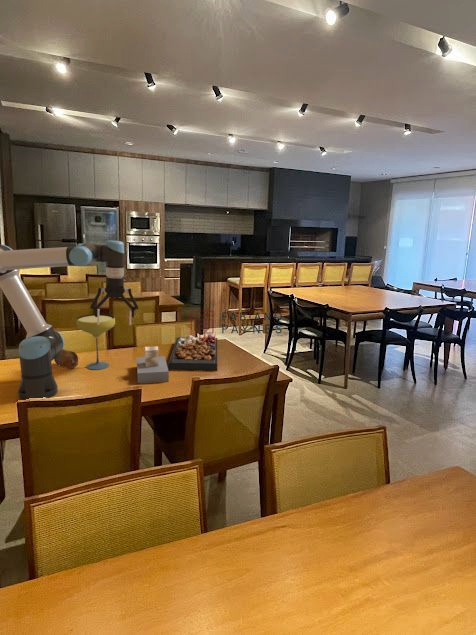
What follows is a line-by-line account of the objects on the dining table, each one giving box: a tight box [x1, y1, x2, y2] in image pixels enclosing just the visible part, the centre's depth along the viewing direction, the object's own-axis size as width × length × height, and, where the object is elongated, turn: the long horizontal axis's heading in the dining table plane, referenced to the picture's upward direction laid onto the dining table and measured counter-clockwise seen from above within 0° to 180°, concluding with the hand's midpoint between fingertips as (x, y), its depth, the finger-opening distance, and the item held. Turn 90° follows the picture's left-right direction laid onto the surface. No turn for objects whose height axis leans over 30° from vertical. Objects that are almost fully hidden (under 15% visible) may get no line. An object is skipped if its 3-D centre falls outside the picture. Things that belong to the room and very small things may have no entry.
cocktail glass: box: [75, 313, 116, 371], centre depth 207 cm, size 18×18×25 cm
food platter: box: [167, 331, 219, 372], centre depth 230 cm, size 45×25×10 cm, turn 3°
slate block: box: [136, 355, 170, 384], centre depth 202 cm, size 14×22×5 cm, turn 14°
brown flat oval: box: [53, 349, 79, 370], centre depth 208 cm, size 15×3×8 cm, turn 62°
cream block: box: [144, 346, 159, 367], centre depth 201 cm, size 6×6×8 cm
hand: (114, 324), depth 186 cm, fingers open, 13 cm apart
